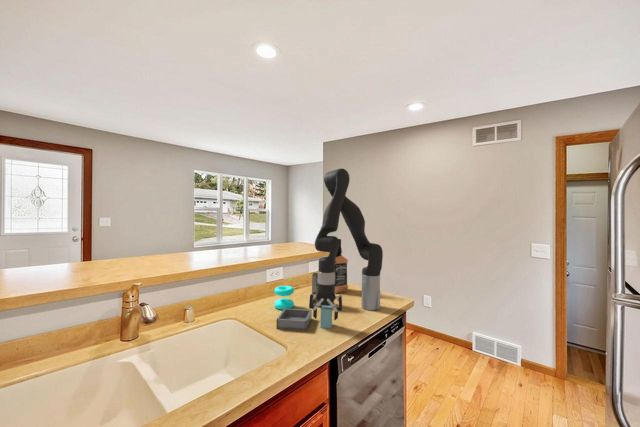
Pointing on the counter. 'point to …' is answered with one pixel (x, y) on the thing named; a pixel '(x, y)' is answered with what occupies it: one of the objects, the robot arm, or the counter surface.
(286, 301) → the donuts
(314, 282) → the coffee box
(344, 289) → the whiskey bottle
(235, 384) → the counter surface
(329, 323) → the teal block
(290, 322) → the bin
